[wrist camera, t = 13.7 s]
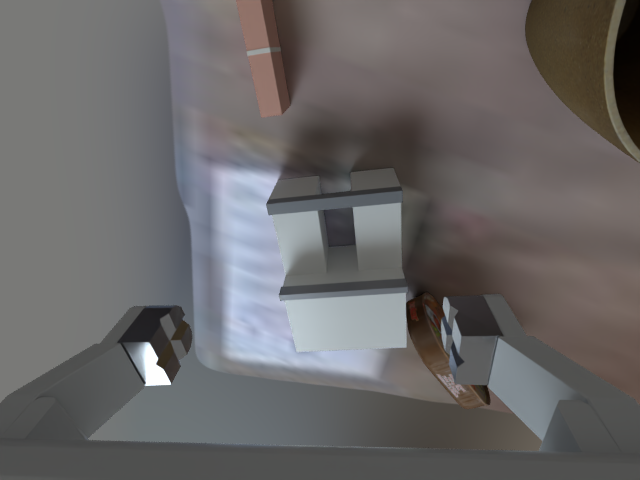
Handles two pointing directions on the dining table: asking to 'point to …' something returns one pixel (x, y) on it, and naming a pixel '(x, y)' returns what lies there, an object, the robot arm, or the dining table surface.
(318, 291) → the dispenser
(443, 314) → the tin
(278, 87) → the brown block
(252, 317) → the dining table surface
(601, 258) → the dining table surface
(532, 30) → the plant pot
